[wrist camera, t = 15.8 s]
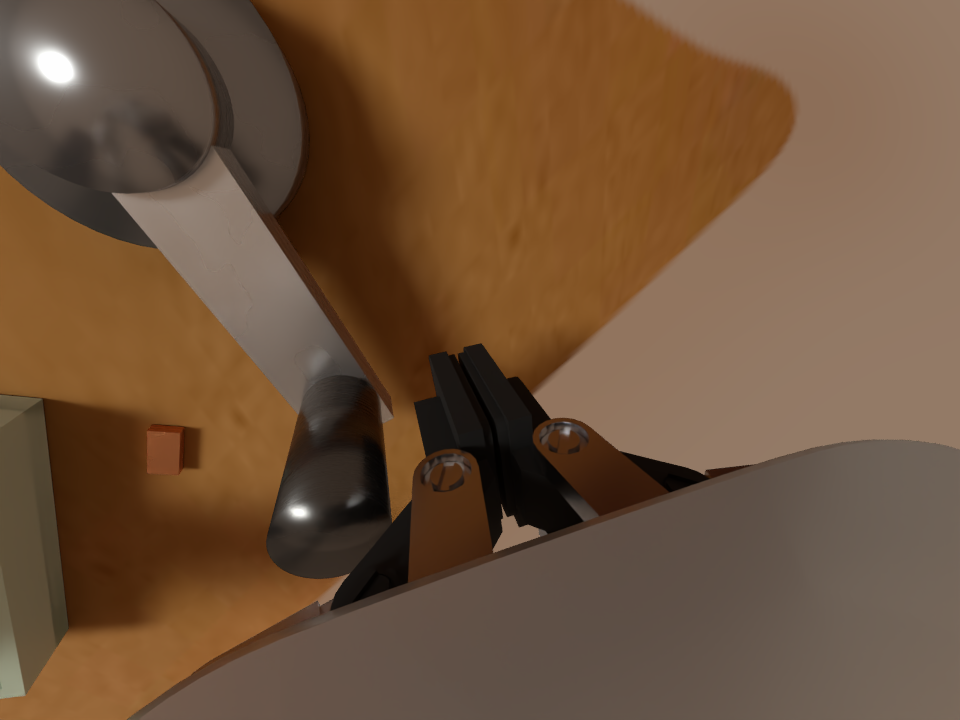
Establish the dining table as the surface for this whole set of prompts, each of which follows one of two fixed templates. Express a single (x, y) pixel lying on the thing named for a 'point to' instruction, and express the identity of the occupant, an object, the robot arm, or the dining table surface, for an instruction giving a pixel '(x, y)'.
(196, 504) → the dining table surface
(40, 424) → the tray
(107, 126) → the crank
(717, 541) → the robot arm
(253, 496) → the dining table surface
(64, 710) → the dining table surface
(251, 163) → the crank base
